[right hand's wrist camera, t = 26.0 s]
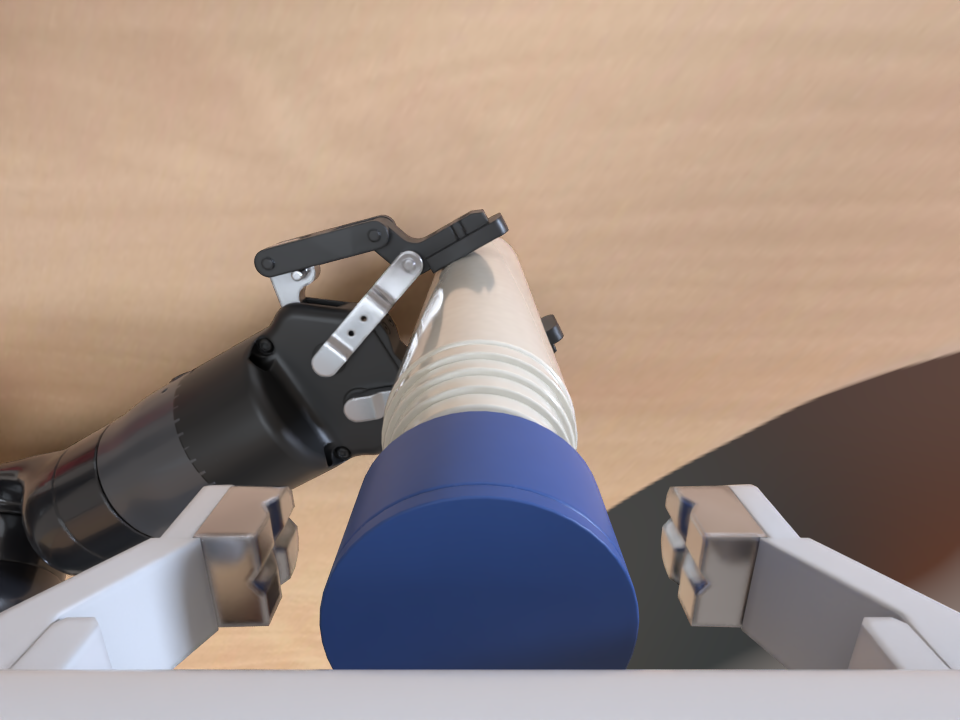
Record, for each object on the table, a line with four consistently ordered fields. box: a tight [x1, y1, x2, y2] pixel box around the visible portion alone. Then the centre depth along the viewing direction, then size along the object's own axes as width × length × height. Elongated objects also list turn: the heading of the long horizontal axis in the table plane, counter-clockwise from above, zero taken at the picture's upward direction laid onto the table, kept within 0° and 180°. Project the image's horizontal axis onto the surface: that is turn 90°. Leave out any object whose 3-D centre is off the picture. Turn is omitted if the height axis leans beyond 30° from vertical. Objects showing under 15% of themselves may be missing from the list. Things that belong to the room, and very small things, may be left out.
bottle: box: [381, 237, 577, 451], centre depth 20 cm, size 5×5×25 cm
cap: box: [320, 411, 639, 670], centre depth 9 cm, size 4×4×3 cm
